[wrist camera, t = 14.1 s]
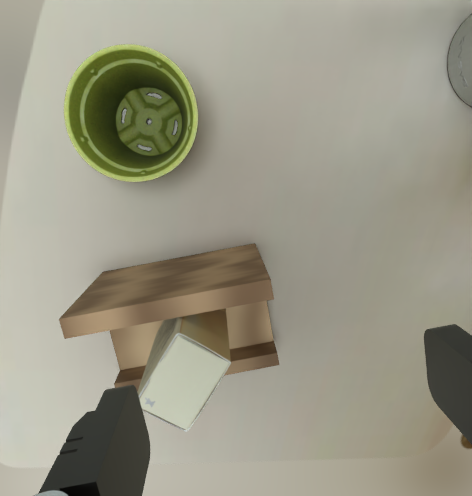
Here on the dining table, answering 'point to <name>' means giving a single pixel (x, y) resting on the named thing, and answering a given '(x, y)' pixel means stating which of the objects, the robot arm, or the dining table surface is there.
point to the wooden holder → (179, 307)
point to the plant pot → (130, 113)
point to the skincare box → (185, 367)
